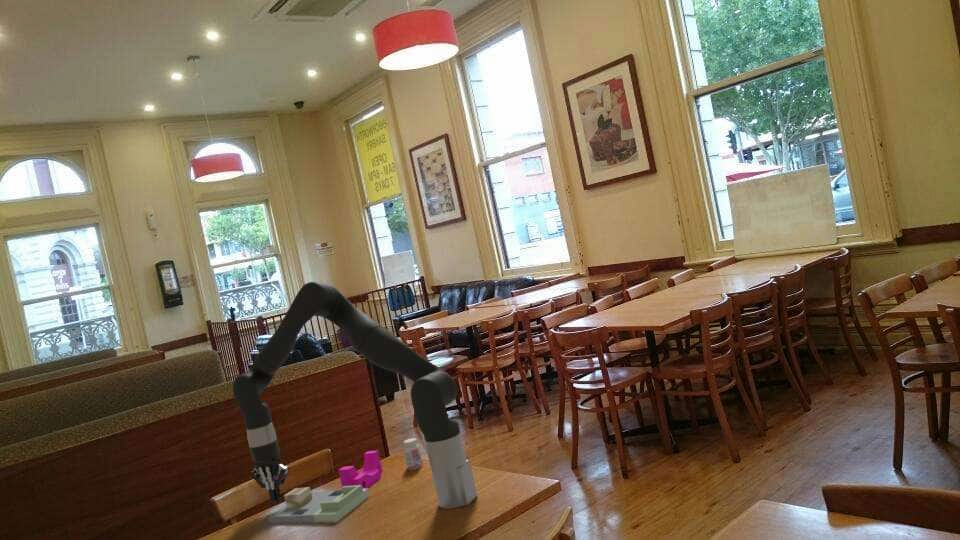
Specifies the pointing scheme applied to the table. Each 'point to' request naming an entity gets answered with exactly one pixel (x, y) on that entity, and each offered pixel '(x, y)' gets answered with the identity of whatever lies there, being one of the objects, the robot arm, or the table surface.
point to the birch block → (298, 497)
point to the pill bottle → (412, 454)
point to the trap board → (323, 506)
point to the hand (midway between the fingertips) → (276, 501)
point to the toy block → (362, 472)
